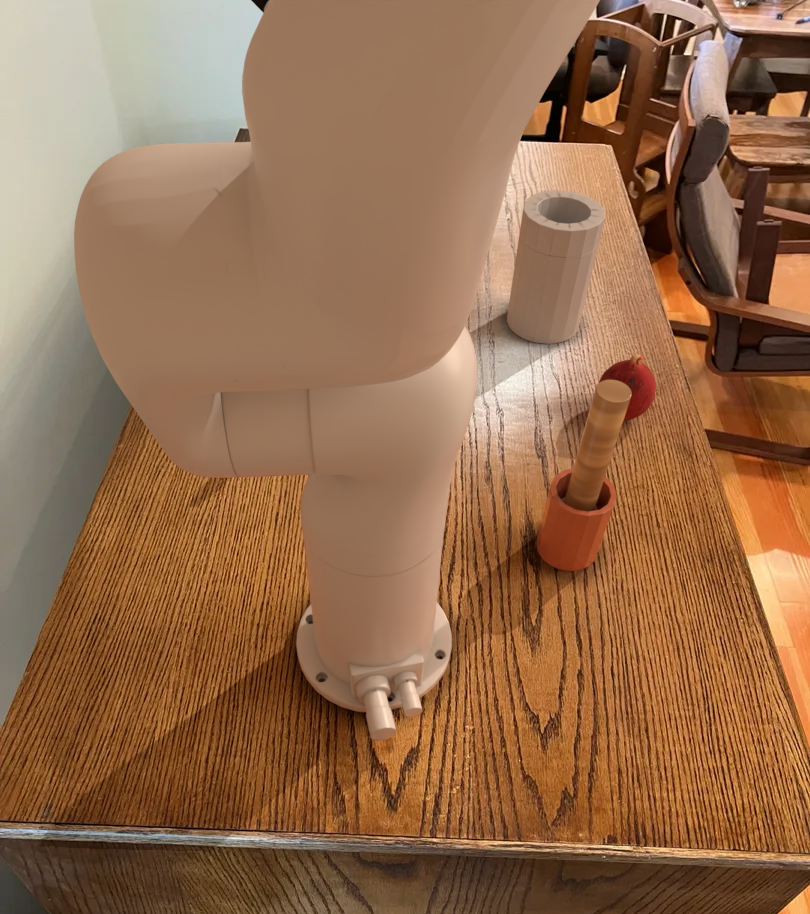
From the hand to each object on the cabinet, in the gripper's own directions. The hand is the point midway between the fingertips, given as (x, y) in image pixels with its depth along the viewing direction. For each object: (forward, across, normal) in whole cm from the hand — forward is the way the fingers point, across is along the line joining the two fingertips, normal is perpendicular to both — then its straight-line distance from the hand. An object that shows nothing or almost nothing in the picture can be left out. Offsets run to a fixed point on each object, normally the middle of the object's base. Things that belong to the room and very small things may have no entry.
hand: (347, 72), depth 62 cm
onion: (+31, +27, -10) cm, 42 cm away
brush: (+30, +16, -27) cm, 43 cm away
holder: (+31, +16, -27) cm, 44 cm away
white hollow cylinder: (+30, +24, +8) cm, 39 cm away
